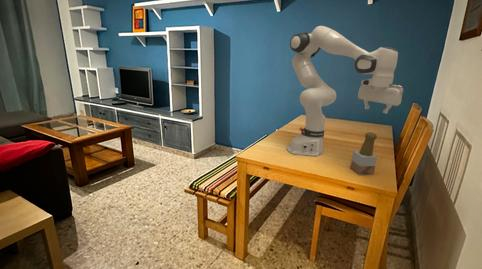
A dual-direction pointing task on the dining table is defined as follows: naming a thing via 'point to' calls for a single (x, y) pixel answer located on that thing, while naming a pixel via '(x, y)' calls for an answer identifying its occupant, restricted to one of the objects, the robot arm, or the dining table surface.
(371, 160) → the grey block
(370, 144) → the cork
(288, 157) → the dining table surface
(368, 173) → the walnut block
